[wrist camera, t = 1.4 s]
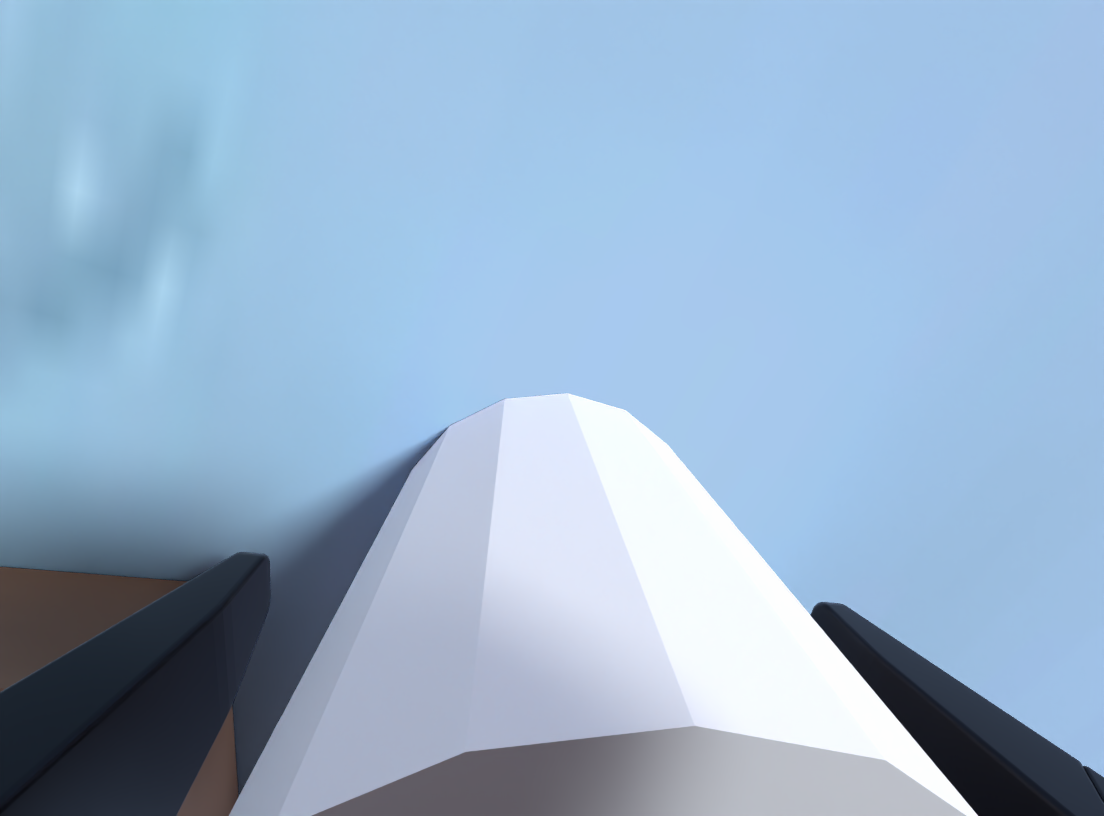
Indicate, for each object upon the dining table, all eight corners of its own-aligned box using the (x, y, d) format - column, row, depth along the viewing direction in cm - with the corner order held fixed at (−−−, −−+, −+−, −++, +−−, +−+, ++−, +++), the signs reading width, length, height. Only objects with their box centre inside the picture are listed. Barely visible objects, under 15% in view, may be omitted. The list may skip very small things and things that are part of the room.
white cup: (603, 696, 13) (698, 1227, 6) (310, 590, 11) (38, 1172, 5) (792, 461, 11) (1219, 901, 4) (466, 285, 9) (362, 577, 3)
